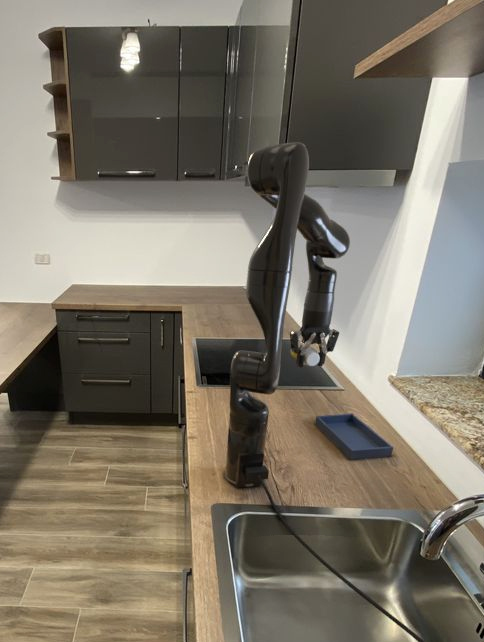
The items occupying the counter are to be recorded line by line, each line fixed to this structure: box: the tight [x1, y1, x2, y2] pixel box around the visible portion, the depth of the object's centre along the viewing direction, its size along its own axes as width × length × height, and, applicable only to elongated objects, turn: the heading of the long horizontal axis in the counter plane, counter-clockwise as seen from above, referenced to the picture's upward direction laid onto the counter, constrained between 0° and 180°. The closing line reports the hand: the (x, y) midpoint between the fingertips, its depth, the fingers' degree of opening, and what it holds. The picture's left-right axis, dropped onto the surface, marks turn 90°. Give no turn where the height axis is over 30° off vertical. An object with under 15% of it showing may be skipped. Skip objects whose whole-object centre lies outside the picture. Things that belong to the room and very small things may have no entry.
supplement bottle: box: [290, 341, 320, 367], centre depth 129 cm, size 5×5×10 cm
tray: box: [314, 413, 394, 461], centre depth 131 cm, size 21×12×3 cm, turn 9°
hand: (309, 365), depth 127 cm, fingers closed on supplement bottle, 5 cm apart
